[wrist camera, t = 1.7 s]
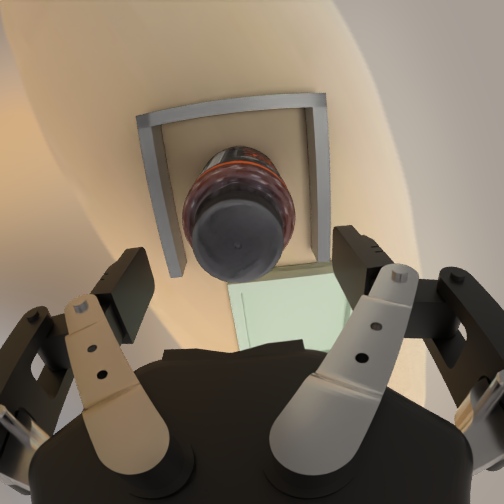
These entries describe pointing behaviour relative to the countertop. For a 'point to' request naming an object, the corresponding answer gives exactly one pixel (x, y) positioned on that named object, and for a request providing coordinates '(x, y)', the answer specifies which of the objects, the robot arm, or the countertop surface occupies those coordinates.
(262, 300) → the tray
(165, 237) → the holder
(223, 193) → the supplement bottle
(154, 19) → the countertop surface
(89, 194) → the countertop surface
